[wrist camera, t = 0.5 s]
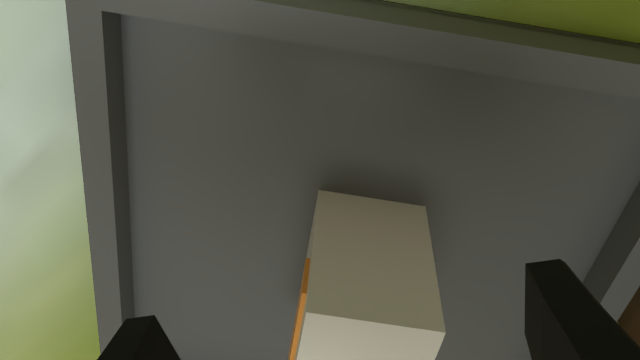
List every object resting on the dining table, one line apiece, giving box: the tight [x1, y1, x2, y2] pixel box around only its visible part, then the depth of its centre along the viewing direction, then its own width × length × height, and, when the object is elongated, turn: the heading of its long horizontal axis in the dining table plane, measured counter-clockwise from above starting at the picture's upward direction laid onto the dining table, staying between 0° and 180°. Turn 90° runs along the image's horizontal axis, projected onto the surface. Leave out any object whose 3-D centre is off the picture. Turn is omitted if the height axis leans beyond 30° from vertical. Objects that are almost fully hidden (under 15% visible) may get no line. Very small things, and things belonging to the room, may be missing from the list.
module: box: [288, 190, 446, 360], centre depth 20 cm, size 6×4×6 cm
